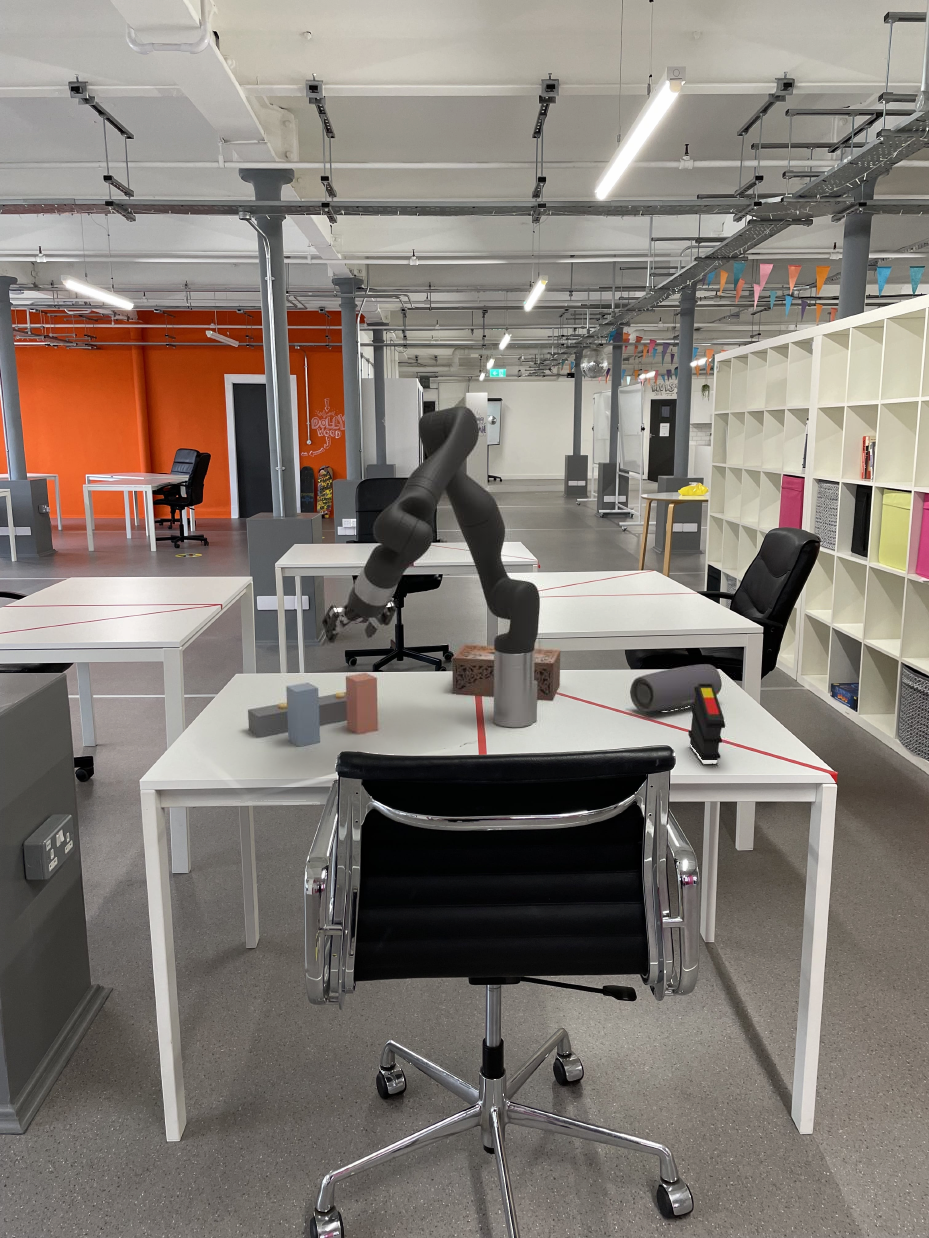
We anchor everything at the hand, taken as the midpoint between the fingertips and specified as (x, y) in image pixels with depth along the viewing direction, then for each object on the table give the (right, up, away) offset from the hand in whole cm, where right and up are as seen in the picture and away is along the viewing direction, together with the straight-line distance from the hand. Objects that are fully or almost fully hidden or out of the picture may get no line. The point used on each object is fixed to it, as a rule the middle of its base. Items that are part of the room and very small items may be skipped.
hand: (348, 636), depth 182 cm
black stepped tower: (+73, -25, +1) cm, 77 cm away
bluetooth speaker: (+75, -18, +35) cm, 85 cm away
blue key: (-10, -22, +7) cm, 26 cm away
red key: (+1, -21, +15) cm, 26 cm away
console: (-7, -22, +15) cm, 28 cm away
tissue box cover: (+35, -15, +50) cm, 63 cm away
